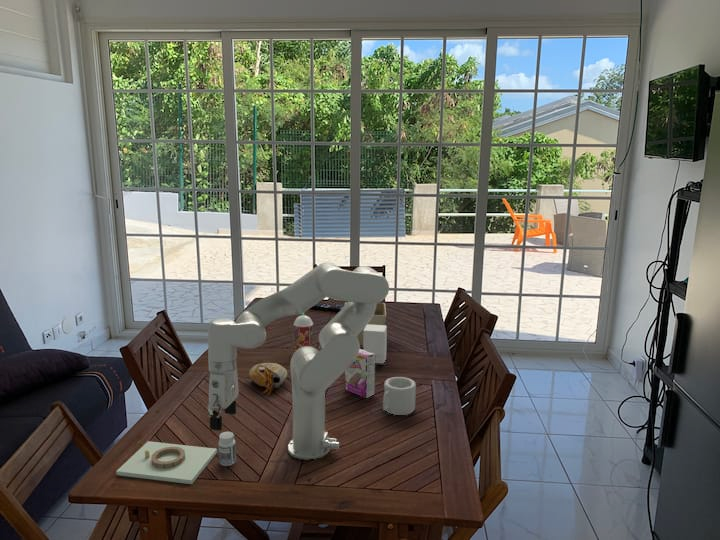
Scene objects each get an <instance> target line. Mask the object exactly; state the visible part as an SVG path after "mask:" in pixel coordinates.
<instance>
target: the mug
mask: <svg viewBox="0 0 720 540" xmlns="http://www.w3.org/2000/svg"><path fill="white" fill-rule="evenodd" d="M383 384H384V386H383V387H384V394H383V399H382V400H383V401H382V409H383V411H385V412H386V411H387V412H388V413H387V412H386V413H387V414H389V413H391V414H394V415H393V416H395V415H406V416H408V415H407V414H410V413H412V412H413V411H414V410H415V411H416V393H417V392H416V390H417V384H416V382H415V381H414V380H413V379H411V378H408V377H405V376H394V377H393V376H392V377H389V378H387V379H386V380H385V381H384V383H383ZM415 411H414V412H415ZM414 412H413V413H414ZM413 413H412V414H413ZM391 414H390V415H391ZM410 415H411V414H410Z"/></svg>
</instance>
